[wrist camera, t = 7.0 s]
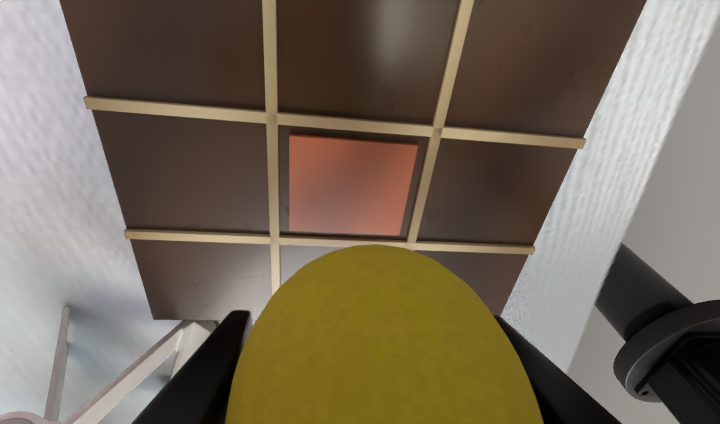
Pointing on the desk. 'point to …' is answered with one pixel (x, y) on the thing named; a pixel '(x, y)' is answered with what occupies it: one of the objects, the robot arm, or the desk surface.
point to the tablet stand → (86, 418)
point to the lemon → (378, 348)
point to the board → (337, 132)
